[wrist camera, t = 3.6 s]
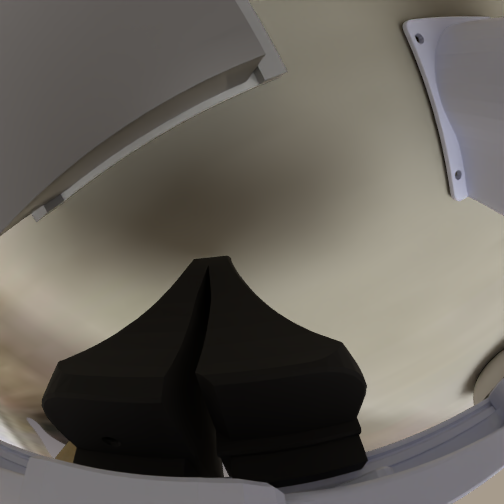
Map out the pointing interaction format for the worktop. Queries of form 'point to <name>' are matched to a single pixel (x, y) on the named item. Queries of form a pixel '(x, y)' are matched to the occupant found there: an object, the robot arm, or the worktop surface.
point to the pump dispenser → (489, 378)
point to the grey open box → (103, 82)
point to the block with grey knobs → (263, 73)
